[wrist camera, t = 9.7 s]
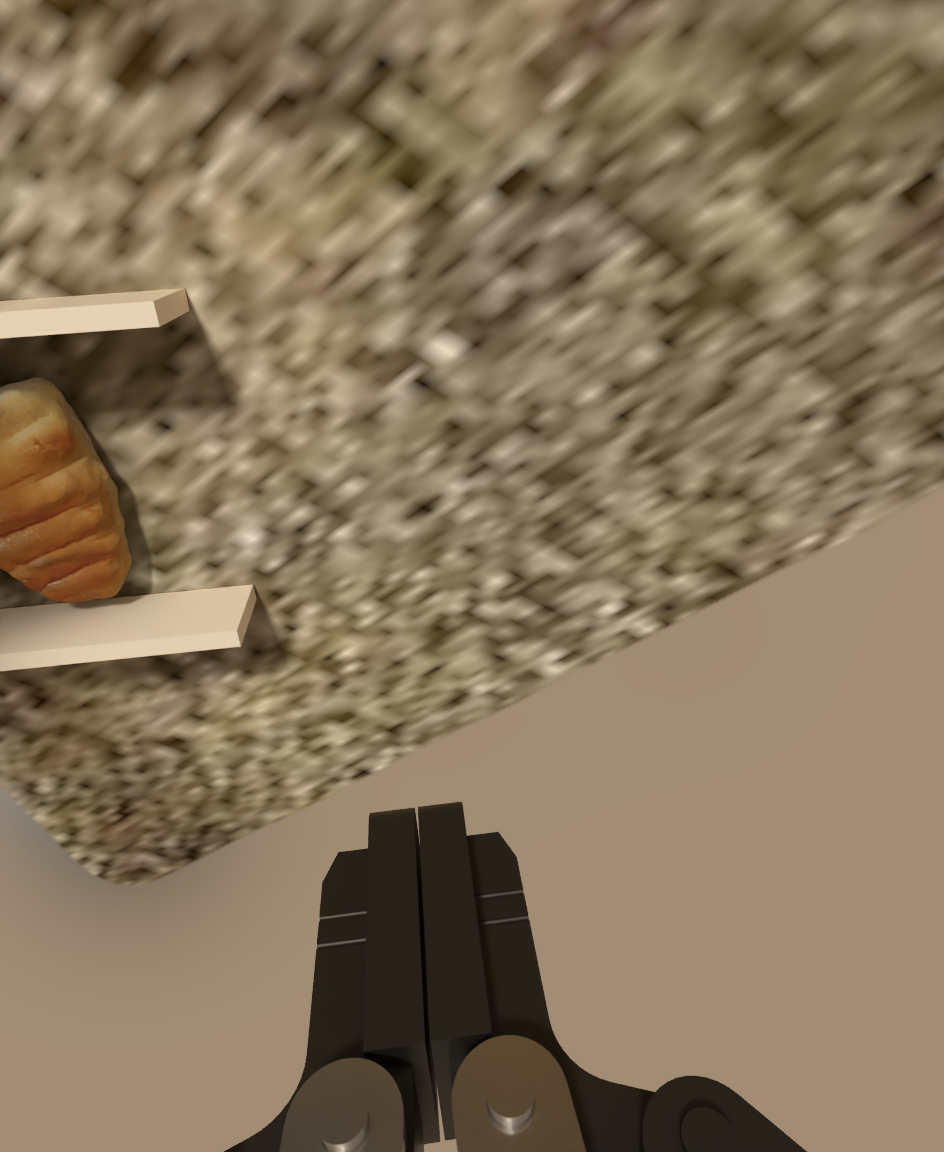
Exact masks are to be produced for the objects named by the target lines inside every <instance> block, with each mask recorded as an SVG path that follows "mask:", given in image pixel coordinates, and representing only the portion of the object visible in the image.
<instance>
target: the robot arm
mask: <svg viewBox="0 0 944 1152" xmlns="http://www.w3.org/2000/svg"><path fill="white" fill-rule="evenodd" d="M418 818H419V836H420V844H419V836H418V829H417V821H416V813H415V808H408V809H400V810H392V811H383V812H376V813H370V815H369V835H368V849H361V850H353V851H345V852H338V854H337V856H336V858H335V860H334V862H333V864H332V865H331V867H330V869H329V871H328V873H327V875H326V877H325V879H324V881H323V883H322V894H321V905H320V922H319V927H318V938H317V950H316V960H315V971H314V982H313V993H312V1004H311V1015H310V1027H309V1038H308V1048H307V1057H306V1063H305V1068H304V1071H303V1074H302V1078H301V1080H300V1082H299V1084H298V1087H297V1089H296V1091H295V1092H294V1094H293V1096H292V1098H291V1099H290V1101H289V1102H288V1104H287V1105H286V1106H285V1107H284V1109H283V1110H282V1112H281V1113H280V1114H279V1115H278V1116H277V1117H276V1118H275V1119H274V1120H273V1121H272V1122H271V1123H270V1124H268V1126H266V1127H265V1128H263V1129H262V1130H261V1131H260V1132H258V1133H256V1134H255V1135H253V1136H251V1137H250V1138H248V1139H246V1140H244V1141H243V1142H241V1143H239V1144H237V1145H235V1146H233V1147H231V1148H230V1149H228V1150H226V1151H224V1152H424V1144H428V1143H434V1142H440V1131H439V1116H438V1098H437V1088H438V1095H439V1101H440V1108H441V1115H442V1122H443V1129H444V1136H445V1140H451V1139H456V1143H457V1150H458V1152H807V1151H805V1150H804V1149H803V1148H802V1147H801V1146H799V1145H798V1144H797V1143H796V1142H795V1141H793V1140H792V1139H791V1138H790V1137H789V1136H787V1135H786V1134H785V1133H784V1132H782V1131H781V1130H780V1129H779V1128H778V1127H777V1126H775V1125H774V1124H773V1123H772V1122H771V1121H769V1120H768V1119H767V1118H766V1117H765V1116H763V1115H762V1114H761V1113H760V1112H759V1111H757V1110H756V1109H755V1108H754V1107H753V1106H751V1105H750V1104H749V1103H748V1102H747V1101H745V1100H744V1099H743V1098H742V1097H741V1096H739V1095H738V1094H737V1093H735V1092H734V1091H733V1090H731V1089H730V1088H729V1087H727V1086H725V1085H723V1084H721V1083H719V1082H718V1081H715V1080H712V1079H709V1078H706V1077H699V1076H684V1077H679V1078H675V1079H673V1080H671V1081H668V1082H667V1083H666V1084H664V1085H663V1086H661V1087H660V1088H659V1089H658V1090H657V1091H656V1092H652V1091H647V1090H643V1089H639V1088H634V1087H630V1086H626V1085H621V1084H617V1083H613V1082H609V1081H606V1080H603V1079H600V1078H598V1077H595V1076H593V1075H591V1074H589V1073H588V1072H586V1071H585V1070H583V1069H582V1068H580V1067H579V1066H578V1065H577V1064H575V1063H574V1062H573V1061H572V1060H571V1059H570V1058H569V1056H568V1055H567V1054H566V1053H565V1052H564V1051H563V1049H562V1048H561V1046H560V1044H559V1043H558V1041H557V1039H556V1037H555V1035H554V1033H553V1031H552V1027H551V1024H550V1020H549V1016H548V1011H547V1006H546V1001H545V996H544V991H543V986H542V981H541V976H540V971H539V966H538V961H537V957H536V952H535V947H534V941H533V936H532V931H531V926H530V921H529V918H528V912H527V906H526V901H525V897H524V894H523V886H522V882H521V876H520V872H519V867H518V861H517V857H516V856H515V854H514V853H513V851H512V850H511V849H510V847H509V846H508V845H507V843H506V842H505V841H504V839H503V838H502V836H501V835H500V834H499V832H494V833H486V834H478V835H470V836H467V835H466V828H465V820H464V813H463V805H462V802H455V803H447V804H439V805H431V806H423V807H418Z"/></svg>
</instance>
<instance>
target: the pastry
mask: <svg viewBox="0 0 944 1152" xmlns="http://www.w3.org/2000/svg"><path fill="white" fill-rule="evenodd" d="M124 528H125V521H124V518H123V516H122V514H121V511H120V508H119V504H118V488H117V486H116V484H115V482H114V481H113V480H112V479H111V478H110V476H109V474H108V472H107V470H106V468H105V467H104V466H103V463H102V461H101V460H100V458H99V456H98V455H97V453H96V451H95V449H94V446H93V444H92V442H91V439H90V437H89V435H88V433H87V431H86V430H85V428H84V427H83V425H82V423H81V421H80V420H79V419H78V417H77V416H76V414H75V412H74V410H73V408H72V407H71V406H70V405H69V403H68V402H67V401H66V400H65V398H64V396H63V394H62V393H61V392H60V391H59V390H58V389H57V387H56V386H55V385H54V384H53V383H52V382H50V381H47V380H45V379H42V378H31V379H28V380H25V381H21V382H16V383H11V384H8V385H5V386H2V387H0V569H1V570H3V571H6V572H8V573H9V574H10V575H11V576H12V577H14V578H16V579H18V580H19V581H21V582H22V583H23V584H24V585H25V586H27V587H28V588H29V589H31V590H34V591H37V592H39V593H41V594H42V595H44V596H46V597H47V598H48V599H49V600H51V601H57V602H66V603H77V602H85V601H90V600H94V599H98V598H100V599H107V598H110V597H113V596H115V595H116V594H117V593H118V592H119V590H120V589H121V587H122V585H123V583H124V580H125V578H126V575H127V573H128V571H129V569H130V567H131V565H132V558H131V555H130V552H129V550H128V541H127V538H126V536H125V532H124Z"/></svg>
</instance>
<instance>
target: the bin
mask: <svg viewBox="0 0 944 1152" xmlns="http://www.w3.org/2000/svg"><path fill="white" fill-rule="evenodd" d="M188 311H190V310H189V306H188V301H187V297H186V293H185V288H181V289H167V290H153V291H139V292H124V293H110V294H96V295H82V296H67V297H53V298H39V299H25V300H10V301H0V338H14V337H27V336H41V335H55V334H68V333H82V332H95V331H109V330H123V329H136V328H150V327H160V326H162V325H164V324H166V323H168V322H170V321H171V320H173V319H175V318H177V317H179V316H181V315H183V314H184V313H186V312H188ZM256 600H257V599H256V594H255V590H254V586H253V585H242V586H232V587H222V588H212V589H201V590H191V591H181V592H171V593H160V594H150V595H140V596H130V597H119V598H109V599H99V600H90V601H85V602H77V603H58V604H47V605H37V606H27V607H17V608H6V609H0V671H8V670H18V669H28V668H37V667H47V666H57V665H67V664H76V663H86V662H96V661H105V660H115V659H125V658H135V657H144V656H154V655H164V654H173V653H183V652H193V651H203V650H212V649H222V648H232V647H241V645H242V642H243V639H244V636H245V633H246V630H247V627H248V624H249V621H250V618H251V615H252V612H253V609H254V606H255V603H256Z"/></svg>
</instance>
